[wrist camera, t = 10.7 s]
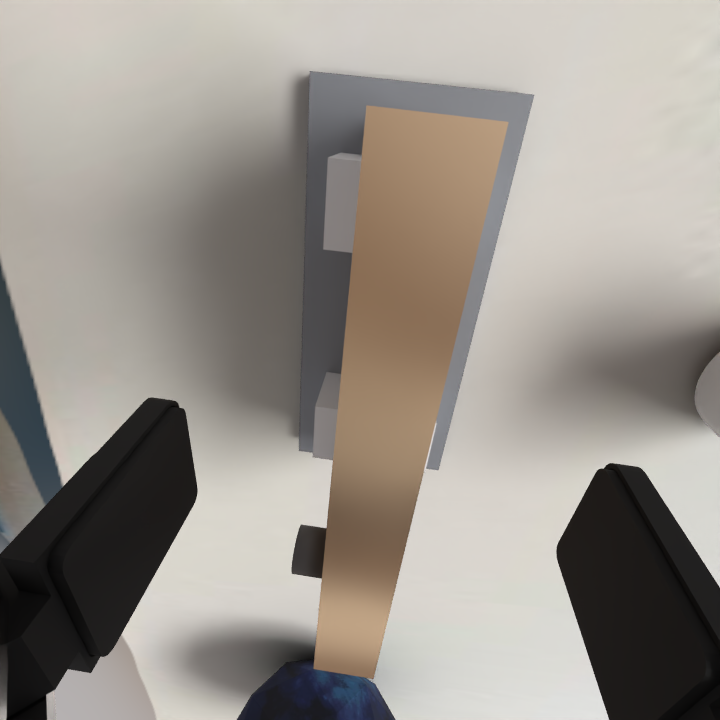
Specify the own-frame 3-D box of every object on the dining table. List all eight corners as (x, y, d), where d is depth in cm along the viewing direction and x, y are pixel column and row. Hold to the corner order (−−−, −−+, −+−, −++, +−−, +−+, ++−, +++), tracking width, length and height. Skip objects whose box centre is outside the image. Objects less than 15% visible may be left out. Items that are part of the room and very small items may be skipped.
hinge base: (315, 74, 16) (289, 59, 12) (527, 96, 16) (561, 87, 12) (302, 439, 25) (285, 490, 21) (437, 457, 24) (442, 513, 21)
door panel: (359, 114, 15) (282, 96, 6) (445, 125, 15) (508, 122, 6) (330, 443, 23) (277, 663, 14) (387, 452, 23) (373, 678, 14)
